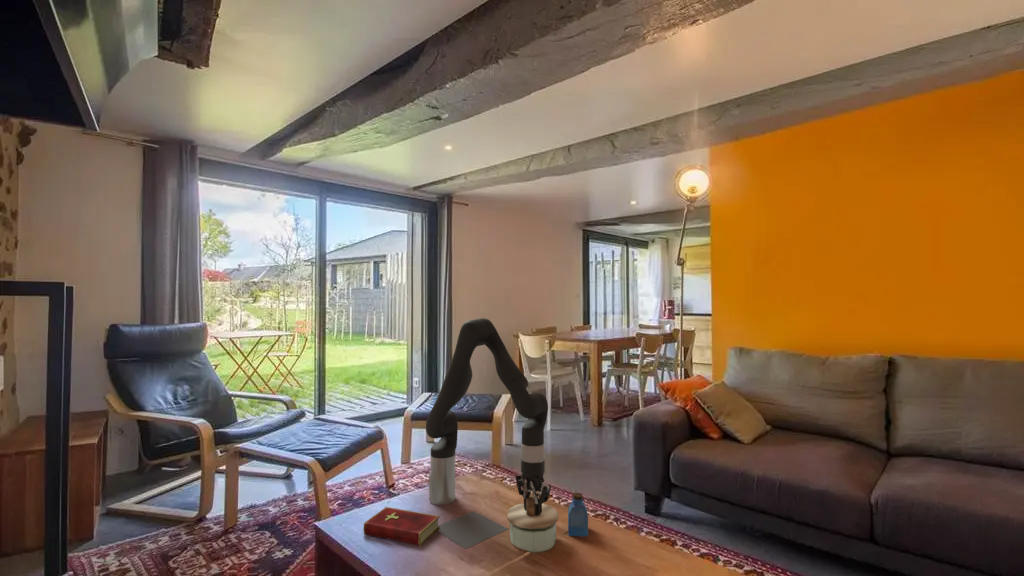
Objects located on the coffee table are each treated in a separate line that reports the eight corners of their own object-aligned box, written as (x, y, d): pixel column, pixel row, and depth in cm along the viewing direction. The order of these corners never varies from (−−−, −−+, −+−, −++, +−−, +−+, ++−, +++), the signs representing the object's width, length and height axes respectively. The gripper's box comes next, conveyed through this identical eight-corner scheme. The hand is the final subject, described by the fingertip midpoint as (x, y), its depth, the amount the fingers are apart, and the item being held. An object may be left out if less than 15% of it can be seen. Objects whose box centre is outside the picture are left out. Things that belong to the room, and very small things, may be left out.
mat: (431, 529, 157) (431, 528, 157) (473, 512, 170) (473, 511, 170) (465, 550, 144) (465, 548, 144) (508, 530, 157) (508, 528, 157)
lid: (496, 516, 150) (496, 498, 150) (531, 501, 161) (531, 485, 162) (533, 534, 139) (533, 515, 139) (568, 517, 150) (568, 499, 150)
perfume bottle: (586, 527, 159) (586, 491, 159) (588, 536, 153) (587, 498, 153) (568, 526, 159) (568, 490, 160) (568, 535, 153) (568, 498, 154)
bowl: (501, 540, 150) (501, 521, 150) (532, 525, 160) (532, 507, 160) (533, 557, 140) (533, 537, 140) (564, 541, 150) (564, 521, 150)
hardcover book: (419, 547, 146) (419, 533, 146) (363, 535, 153) (363, 522, 153) (439, 528, 157) (439, 515, 157) (386, 518, 165) (386, 506, 165)
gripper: (508, 454, 153) (508, 508, 153) (541, 466, 143) (541, 524, 142) (525, 449, 158) (525, 501, 158) (557, 460, 148) (557, 516, 148)
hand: (532, 512), depth 150 cm, fingers closed on lid, 4 cm apart
